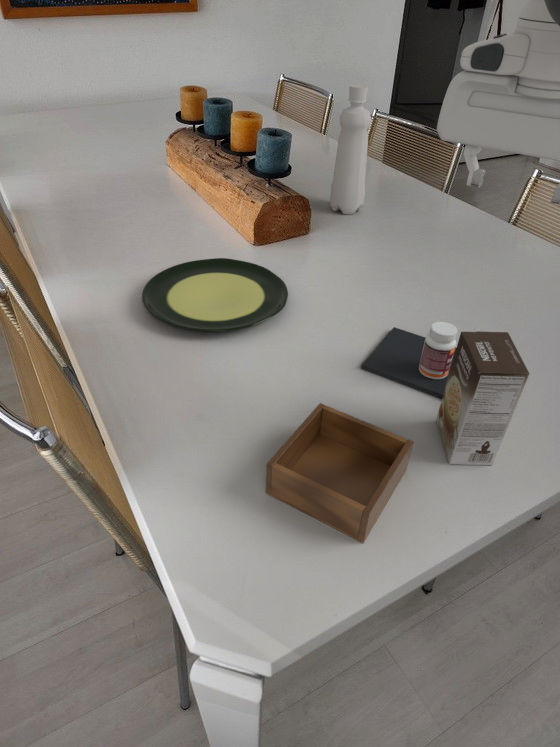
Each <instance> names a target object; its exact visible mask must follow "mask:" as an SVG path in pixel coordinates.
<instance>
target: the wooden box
mask: <svg viewBox="0 0 560 747" xmlns="http://www.w3.org/2000/svg"><path fill="white" fill-rule="evenodd" d="M413 446H414V441H413V440H410V439H408V438H406V437H404V436H401V435H398V434H396V433H394V432H391V431H389V430H386V429H384V428H381V427H380V426H376V425H374V424H372V423H369V422H367V421H365V420H362V419H360V418H358V417H355V416H353V415H350V414H348V413H345V412H343V411H341V410H338V409H336V408H334V407H331V406H328V405H326V404H324V403H322V402H320V403H319V404H318V405H317V406H316V407H315V408H314V409H313V411H311V413H310V414H309V415H308V416H307V417H306V419H304V420H303V422H302V423H301V424H300V425H299V426H298V427H297V428H296V429H295V431H294V432H293V433H292V434H291V435H290V436H289V438H288V439H287V440H286V441H285V442H284V443H283V445H281V447H280V448H278V450H277V451H276V452H275V453H274V455H273V456H272V457H271V458H270V459H269V460H268V462H267V463H266V467H265V468H266V469H265V470H266V471H265V473H266V474H265V494H266V495H269V496H270V497H273V498H274V499H276V500H278V501H280V502H282V503H284V504H286V505H288V506H290V507H292V508H294V509H296V510H298V511H299V512H301V513H304V514H305V515H307V516H309V517H311V518H313V519H315V520H317V521H319V522H321V523H323V524H325V525H327V526H329V527H331V528H332V529H335V530H336V531H339V532H340V533H342V534H344V535H346V536H348V537H350V538H351V539H353V540H356V541H358V542H360V543H362V544H364V543H365V542H366V539H367V538H368V537H369V535H370V533H371V532H372V530H373V528H374V526H375V525H376V522H377V521H378V519H379V518H380V516H381V515H382V513H383V512H384V509H385V507H386V506H387V504H388V502H389V501H390V499H391V497H392V496H393V495H394V493H395V490H396V489H397V487H398V485H399V484H400V482H401V480H402V478H403V477H404V476H405V474H406V472H407V470H408V465H409V461H410V457H411V454H412V450H413Z"/></svg>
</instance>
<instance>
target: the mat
mask: <svg viewBox="0 0 560 747" xmlns="http://www.w3.org/2000/svg"><path fill="white" fill-rule="evenodd" d="M425 338H426V336H423V335H420V334H416V333H414V332H410V331H407V330H404V329H401V328H398V327H395V326H394V327H392V329H391V330H390V331H389V332H388V333H387V335H385V337H383V339H382V340H381V341H380V342H379V343H378V345H377V346H376V347H375V349H374V350H372V352H371V353H369V355H368V357H367V358H366V359H365V360H364V361H363V362H362V364H361V365H360V369H362V370H364V371H366V372H370V373H372V374H375V375H377V376H381V377H383V378H386V379H389V380H391V381H393V382H396V383H399V384H402V385H404V386H407V387H410V388H412V389H415V390H417V391H421V392H423V393H426V394H429V395H430V396H433V397H437V398H439V399H442V398H443V394H444V390H445V387H446V383H447V380H448V376H449V373H450V369H451V366H452V362H453V359H454V355H455V352H456V348H457V346H456V347H455V351H454V355H453V358H452V362H451V365H450V369H449V372H448V375H447V376H446V377H445V378H443V379H438V380H437V379H431V378H428V377H425V376H424V375H422V374H421V373H420V371H419V364H420V361H421V356H422V351H423V347H424V342H425Z"/></svg>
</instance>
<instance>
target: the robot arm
mask: <svg viewBox="0 0 560 747" xmlns="http://www.w3.org/2000/svg"><path fill="white" fill-rule="evenodd" d="M459 64H460V68H461V69H463V70H462V71H460V72H459V73H457V74H455V76H453V78H452V80H451V81H450V83H449V84H448V87H447V89H446V92H445V94H444V98H443V100H442V105H441V108H440V112H439V116H438V120H437V123H436V124H437V125H436V132H437V134H438V136H439V139H440V140H441V141H444V142H448V143H455V144H460V145H465V146H464V150H463V154H462V155H463V158H464V161H465V164H466V167H467V171H468V176H467V179H466V186H467V187H472V188H477V189H479V188H481V187H482V185H483V183H484V177H485V176H486V172H487V170H486V169H484V168H480V165H479V162H478V157H477V155H478V154H479V153H480V152H481V151H482V148H483V149H489V150H495V151H501V152H505V153H512V154H518V155H522V156H527V157H529V156H530V157H534V158H539V159H546V160H552V161H557V162H560V0H525V1H524V3H523V5H522V7H521V9H520V11H519V15H518V18H517V21H516V26H515V29H514V30H513V33H509V34H507V33H500V34H497V35H494V36H493V37H492V38H489V39H484V40H480V41H476V42H473V43H471V44H469V45H467V46H466V47H464V48H463V50H462V52H461V56H460V61H459ZM550 204H553V205H558V206H560V183H558V184H557V185H556V186H555V188H554V191H553V196H552V198H551V200H550Z"/></svg>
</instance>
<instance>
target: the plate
mask: <svg viewBox="0 0 560 747" xmlns="http://www.w3.org/2000/svg"><path fill="white" fill-rule="evenodd" d="M288 297H289V291H288V287H287V284H286V283H285V282H284V280H283V279H282V278H281V277H279V275H277V274H275V273H274V272H273V271H271V270H270V269H269V268H266V267H264V266H262V265H260V264H256V263H254V262H253V263H252V262H249V261H244V260H239V259H233V258H229V257H216V258H215V257H214V258H205V259H196V260H191V261H186V262H181V263H179V264H175V265H173V266H170V267H167V268H165V269H164V270H162V271H160V272H158V273H156V274H155V275H154V276H153V277H151V278H150V279H149V280H148V281H147V282H146V283H145V285H144V287H143V289H142V291H141V301H142V304H143V307H144V308H145V309H146V311H147V312H148V313H149V314H150V315H151V316H153V317H154V318H155V319H158V320H159V321H162V322H164V323H166V324H169V325H170V326H174V327H175V328H179V329H184V330H189V331H195V332H227V331H229V332H230V331H236V330H240V329H247V328H249V327H253V326H256V325H259V324H261V323H263V322H265V321H267V320H269V319H271V318H273V317H274V316H276V315H277V314H279V313H280V312H281V311H282V310H283V309H284V308H285V307H286V304H287V301H288V299H289V298H288Z"/></svg>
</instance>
